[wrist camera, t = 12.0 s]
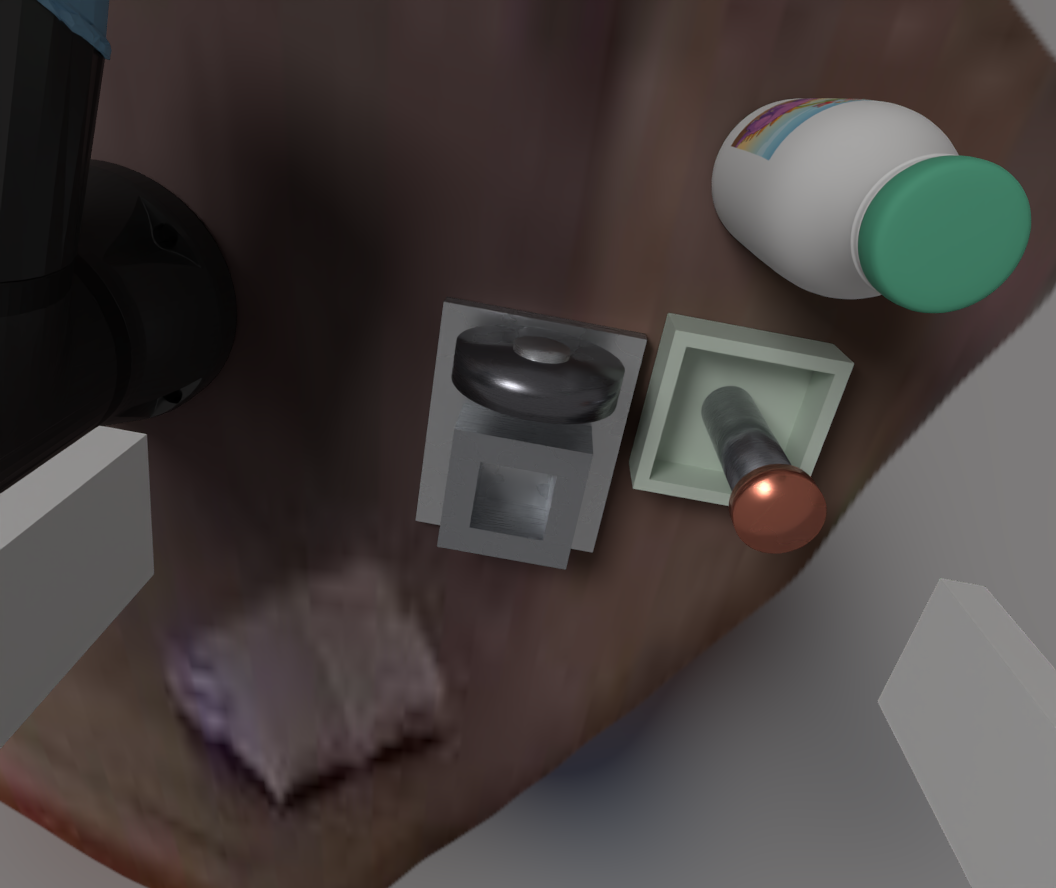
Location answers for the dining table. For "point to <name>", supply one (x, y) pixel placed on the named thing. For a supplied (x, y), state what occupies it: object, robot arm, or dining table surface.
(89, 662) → the dining table surface
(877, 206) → the milk bottle
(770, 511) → the pin
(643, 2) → the dining table surface
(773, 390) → the tray
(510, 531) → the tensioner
